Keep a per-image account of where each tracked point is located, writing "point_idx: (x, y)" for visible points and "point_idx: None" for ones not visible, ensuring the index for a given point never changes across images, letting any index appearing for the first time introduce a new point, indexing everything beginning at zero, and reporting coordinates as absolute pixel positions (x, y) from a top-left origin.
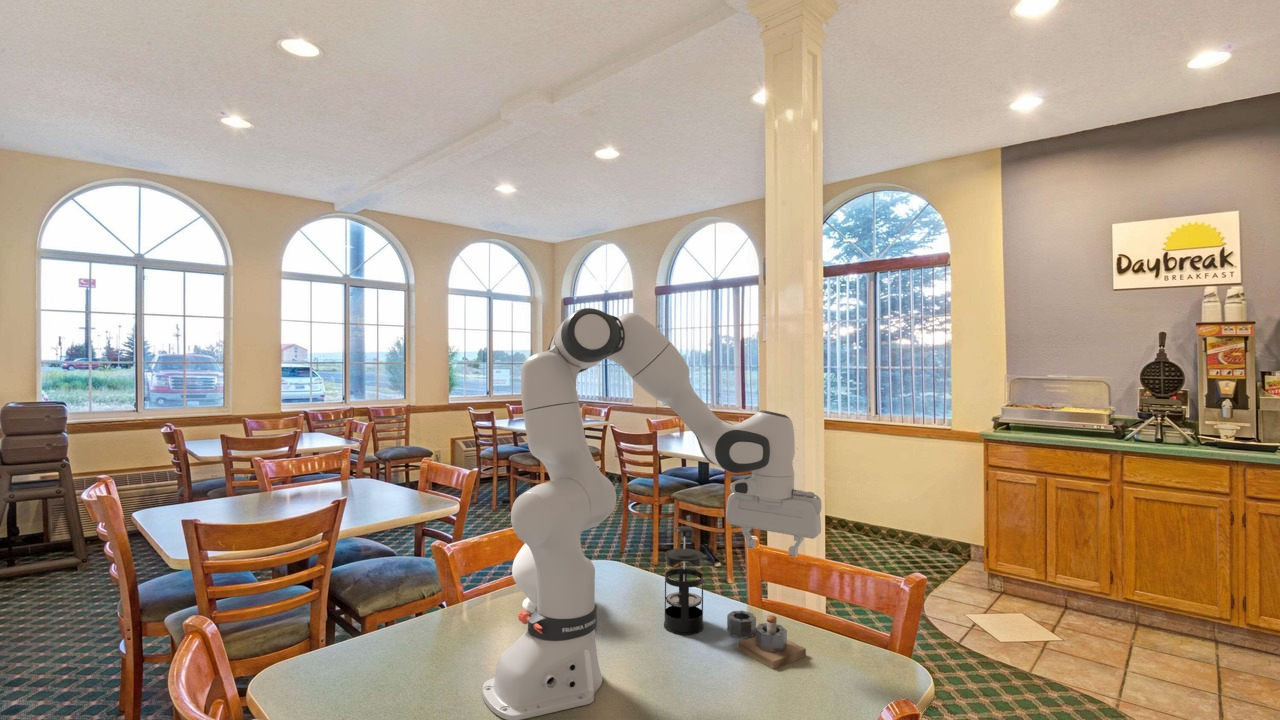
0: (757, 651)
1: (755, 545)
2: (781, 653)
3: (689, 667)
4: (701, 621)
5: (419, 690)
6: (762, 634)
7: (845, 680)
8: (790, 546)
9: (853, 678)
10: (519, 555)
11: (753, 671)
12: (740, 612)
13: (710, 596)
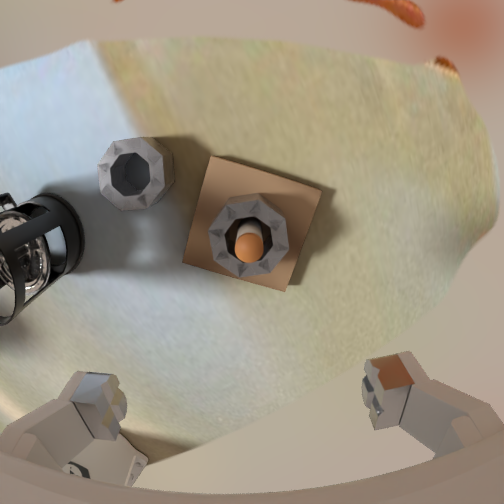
0: None
1: (110, 377)
2: None
3: (162, 360)
4: (71, 232)
5: None
6: (243, 276)
7: (408, 238)
8: (381, 406)
9: (418, 222)
10: None
11: (256, 313)
12: (116, 156)
13: (15, 69)
